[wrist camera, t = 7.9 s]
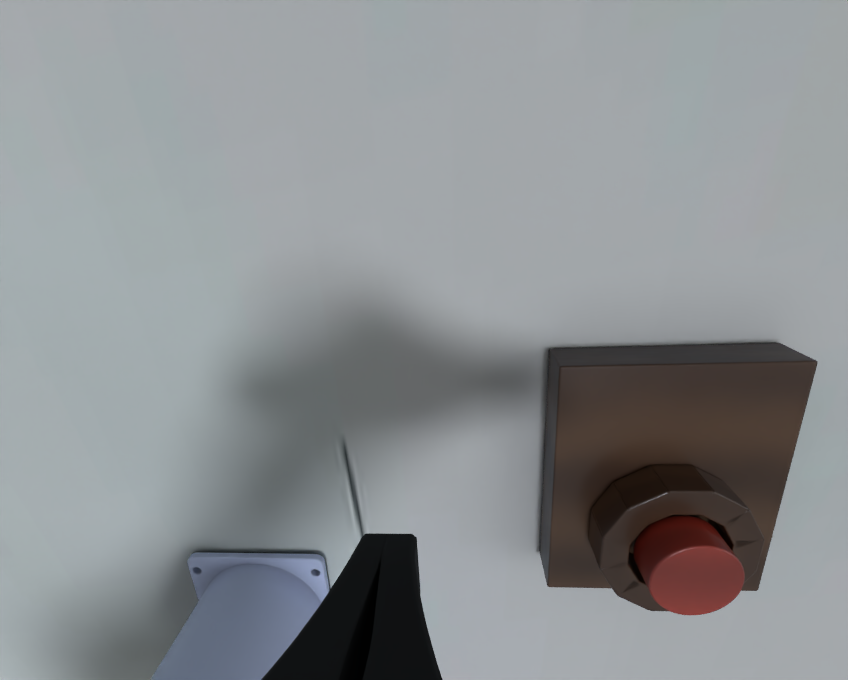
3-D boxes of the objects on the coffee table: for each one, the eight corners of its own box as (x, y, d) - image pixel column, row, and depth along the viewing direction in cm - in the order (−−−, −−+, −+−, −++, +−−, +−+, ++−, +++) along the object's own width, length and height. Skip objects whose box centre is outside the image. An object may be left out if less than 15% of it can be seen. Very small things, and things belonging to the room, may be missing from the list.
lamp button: (712, 580, 19) (736, 617, 18) (628, 579, 20) (644, 615, 18) (727, 514, 18) (754, 547, 17) (637, 514, 19) (655, 545, 17)
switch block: (731, 555, 23) (784, 627, 20) (539, 553, 24) (555, 621, 20) (780, 342, 19) (858, 380, 16) (548, 347, 20) (570, 385, 16)
